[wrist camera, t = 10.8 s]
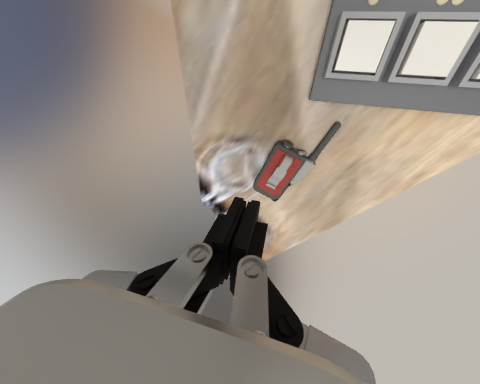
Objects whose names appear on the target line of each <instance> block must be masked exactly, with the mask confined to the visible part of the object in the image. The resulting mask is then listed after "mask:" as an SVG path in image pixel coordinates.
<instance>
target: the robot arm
mask: <svg viewBox="0 0 480 384" xmlns="http://www.w3.org/2000/svg"><path fill="white" fill-rule="evenodd" d="M259 207H260V202H259V201H254V200H252V201H251V202H248V204H247V207H246V201H244V199H243V198H239V197H235V198H234V200H233V202H232V204H231V206H230V208H229V210H228V212H227V214H226V215H225V214H219V215H218V217H217V218H216V220H215V222H214V224H213V226H212V227H211V229H210V231H209V232H208V234H207V236H206V238H205V239H204V241H203V243H202V242H200V243H194V244H192V245H190V246H189V247H188V248H187V249H186V250H185V251H184V252H183V254H182V255H181V256H180V257H179V258H177V259H175V260H172V261H169V262H167V263H164V264H162V265H160V266H157V267H154V268H152V269H149V270H146V271H144V272H142V273H140V274H137V272H131V271H110V270H108V271H107V270H98V271H94V272H92V273H90V274H88V275H87V276H85V277H84V278H83V279H63V280H55V281H49V282H45V283H41V284H38V285H36V286H33V287H30V288H29V289H27V290H25V291H23V292H21V293H20V294H18V295H16V296H15V297H13V298H12V299H10V300H9V301H7V302H6V303H4V304H3V305H1V306H0V384H376V383H375V378H374V373H373V371H372V369H371V367H370V365H369V363H368V362H367V361H366V360H365V358H364V357H363V356H362V355H360V354H359V353H358V352H357V351H355V350H353V349H351V348H350V347H348V346H346V345H345V344H343V343H341V342H339V341H337V340H336V339H334V338H332V337H330V336H329V335H327V334H325V333H323V332H322V331H320V330H318V329H316V328H314V327H313V326H311V325H310V326H307V325H305V324H303V323H302V322H301V321H300V320H299V318H298V316H297V315H296V314H295V312H294V311H293V310H292V308H291V307H290V306H289V305H288V303H287V302H286V301H285V299H284V298H283V296H282V295H281V294H280V292H279V291H278V290H277V288H276V287H275V286H274V284H273V283H272V282H271V280H270V279H269V278H268V276H267V266H266V264H265V262H264V261H263V260H262V253H263V248H264V242H265V237H266V231H267V226H268V224H266V223H261V222H257V221H258V214H259ZM229 274H230V290H231V292H232V294H233V296H234V299H233V306H232V315H231V322H230V324H227V323H224V322H220V321H218V320H215V319H212V318H209V317H206V316H203V315H200V314H201V312H202V310H203V308H204V306H205V305H206V303H207V301H208V299H209V297H210V296H211V294H212V292H213V289H214V288H216V287H218V286H219V284H223V281H224V279H226V280H227V279H228V277H229Z"/></svg>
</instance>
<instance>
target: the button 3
mask: <svg viewBox="0 0 480 384" xmlns="http://www.w3.org/2000/svg"><path fill="white" fill-rule="evenodd" d="M469 79H472V80H480V63H479V64H478V66H477V67H476V69H475V70H474V72H473V74H472V75H471V77H470V78H469Z"/></svg>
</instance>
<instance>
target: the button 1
mask: <svg viewBox="0 0 480 384" xmlns="http://www.w3.org/2000/svg"><path fill="white" fill-rule="evenodd" d="M394 23H395V21H369V20H349V21H348V22H347V23H346V24H345V27H344V31H343V34H342V38H341V41H340V45H339V48H338V52H337V56H336V59H335V63H334V66H333V70H332V71H341V72H357V73H375V72H376V69H377V67H378V64H379V62H380V59H381V57H382V54H383V52H384V49H385V46H386V44H387V41H388V39H389V36H390V34H391V31H392V29H393V26H394Z"/></svg>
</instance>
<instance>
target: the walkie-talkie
mask: <svg viewBox="0 0 480 384" xmlns="http://www.w3.org/2000/svg"><path fill="white" fill-rule="evenodd" d="M340 126H341V124H340V123H339V122H337V123H335V124H334V126H333V127H332V128H331V130H330V131H329V132H328V134H327V135H326V137H325V138H324V139H323V141H322V142H321V143H320V145H319V146H318V147H317V149H316V150H315V151H314V153H313V154H311V156H310V157H309V158H307V157H306V153H307V152H306V151H298V150H296V149H294V148H292V147H293V144H292V143H291V142H289V141H287V140H284V141H283V142H281V141H278V142H277V143H276V145H274V147H273V149H272V152H271V153H270V154H269V156H268V159H267V161H266V163H265V164H264V166H263V167H262V169H261V171H260V173H259V175H258V176H257V178H256V180H255V182H254V184H253V187H254V190H256V191H257V192H259V193H261V194H263V195H265V196H267V197H269V198H271V199H272V200H273V201H277V200H278V199H279V198H280V197H281V195H282V194H283V193H284V191H285V190H286V189H287V187H288V186H290V185H291V184H292V185H293V184H294V183H296V182H299V181H302V180H304V179H305V177H306V176H307V175H308V173H309V172H310V171H311V170H312V169H313V168H314V167H315V166H316V164H315V160H316V159H317V158H318V155H319V154H320V153H321V151H322V150H323V149H324V147H325V146H326V145H327V143H328V142H329V141H330V140H331V138H332V137H333V136H334V134H335V133H336V132H337V130H338V129H339V128H340Z"/></svg>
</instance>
